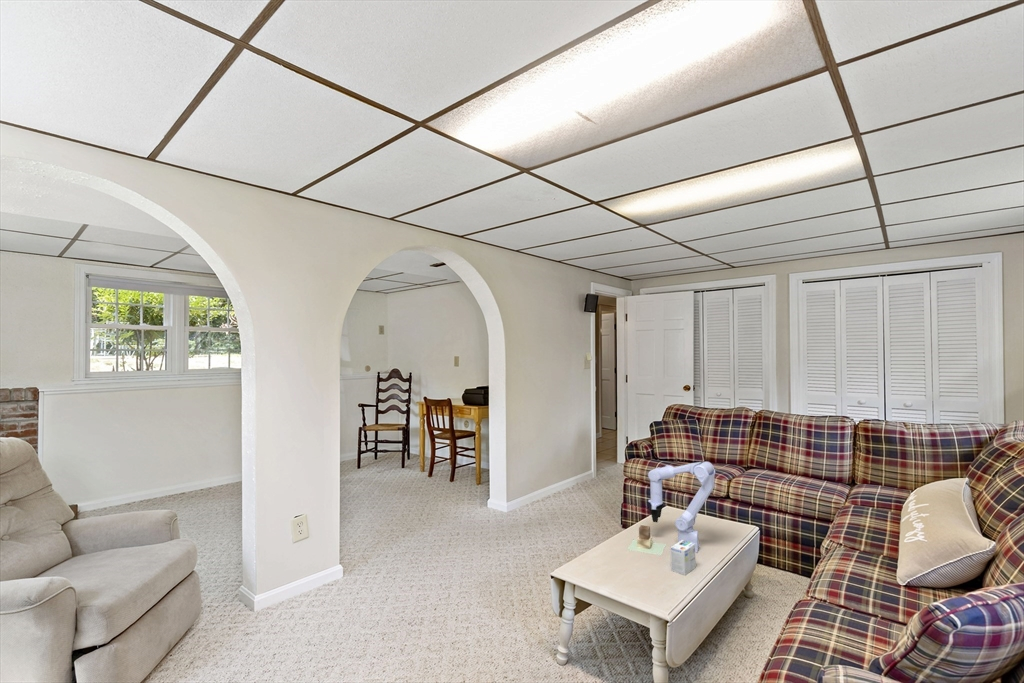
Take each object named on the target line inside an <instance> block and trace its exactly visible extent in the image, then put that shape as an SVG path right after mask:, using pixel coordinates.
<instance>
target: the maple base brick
mask: <svg viewBox="0 0 1024 683" xmlns="http://www.w3.org/2000/svg"><path fill="white" fill-rule="evenodd" d="M636 540H637V547H640V548H646V549H650V548H651V546H652V542H653V536H651V535H650V538H649V540H645V539H639V536H638V537H637V538H636Z"/></svg>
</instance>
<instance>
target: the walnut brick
mask: <svg viewBox="0 0 1024 683" xmlns="http://www.w3.org/2000/svg"><path fill="white" fill-rule="evenodd" d="M650 536H651V526H650V525H641V524H640V526H639V527H638V537H639V539H645V540H649V538H650Z"/></svg>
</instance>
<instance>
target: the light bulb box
mask: <svg viewBox="0 0 1024 683" xmlns="http://www.w3.org/2000/svg"><path fill="white" fill-rule="evenodd" d="M696 562H697V561H696V552H695V543H691V542H688V541H684V540H680V541H679V542H678V541H677V542H676V543H675V544H673V545H672V546H670V567H671V569H670V570H671V572H672V573H673V572H674V573H677V574H679V575H683V576H686V575H688V574H689V573H691V572H692V571H693V570H694V569H696V566H697V564H696Z"/></svg>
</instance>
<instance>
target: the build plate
mask: <svg viewBox="0 0 1024 683" xmlns="http://www.w3.org/2000/svg"><path fill="white" fill-rule="evenodd" d="M666 546H667V543H660V542H653V541H652V546H651V548H650V549H646V548H640V547H637V538H636V539H634V538H633V539H632V541H631V542H630V543H629V545H628V547H627V549H626V551H631V552H632V551H633V552H637V553H643V554H650V555H655V556H662V554H663V552H664V551H665V548H666Z"/></svg>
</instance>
